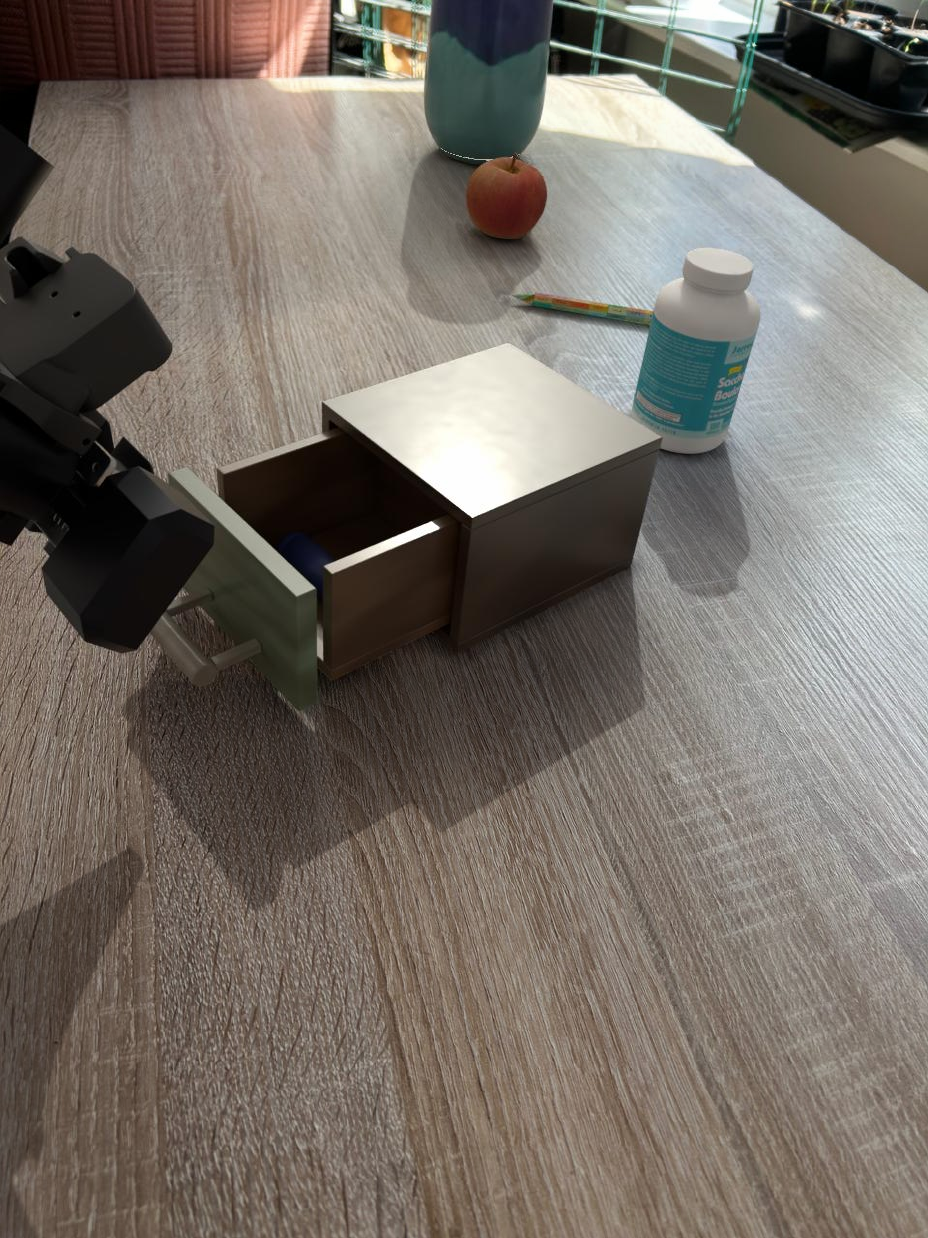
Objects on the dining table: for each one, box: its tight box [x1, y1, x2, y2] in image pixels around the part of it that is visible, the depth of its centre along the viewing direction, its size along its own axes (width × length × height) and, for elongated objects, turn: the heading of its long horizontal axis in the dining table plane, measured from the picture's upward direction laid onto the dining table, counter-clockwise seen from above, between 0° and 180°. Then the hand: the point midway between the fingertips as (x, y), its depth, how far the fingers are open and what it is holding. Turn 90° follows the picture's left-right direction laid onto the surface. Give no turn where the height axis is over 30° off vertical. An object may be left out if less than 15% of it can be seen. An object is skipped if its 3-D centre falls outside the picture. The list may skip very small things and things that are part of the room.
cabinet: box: [321, 342, 663, 655], centre depth 65 cm, size 15×14×10 cm
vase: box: [423, 0, 554, 166], centre depth 116 cm, size 14×14×31 cm
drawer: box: [149, 427, 462, 713], centre depth 58 cm, size 18×12×8 cm
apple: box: [465, 152, 548, 240], centre depth 105 cm, size 8×8×8 cm
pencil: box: [510, 292, 653, 325], centre depth 95 cm, size 1×1×18 cm
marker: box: [278, 532, 336, 602], centre depth 60 cm, size 8×2×2 cm
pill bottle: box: [630, 247, 761, 455], centre depth 77 cm, size 8×7×14 cm
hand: (187, 537), depth 52 cm, fingers closed
